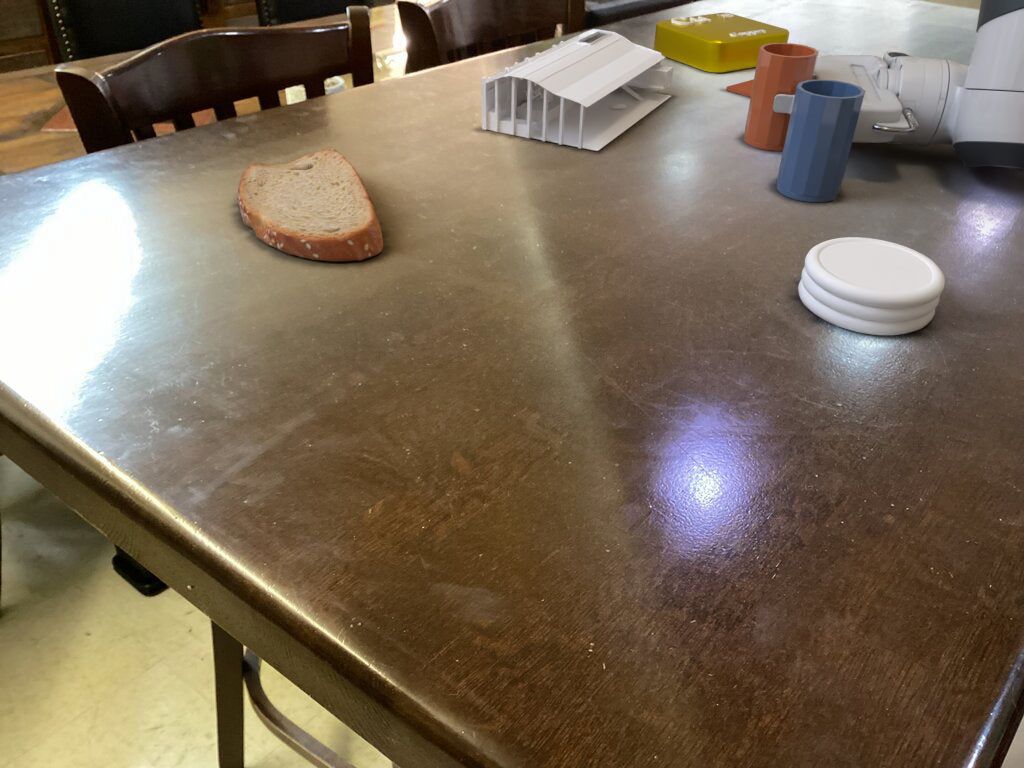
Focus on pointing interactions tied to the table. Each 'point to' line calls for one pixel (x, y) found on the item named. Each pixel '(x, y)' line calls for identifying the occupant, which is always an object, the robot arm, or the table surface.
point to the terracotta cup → (774, 74)
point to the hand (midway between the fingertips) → (772, 91)
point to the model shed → (576, 91)
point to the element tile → (715, 41)
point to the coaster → (870, 285)
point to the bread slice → (311, 208)
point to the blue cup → (819, 139)
